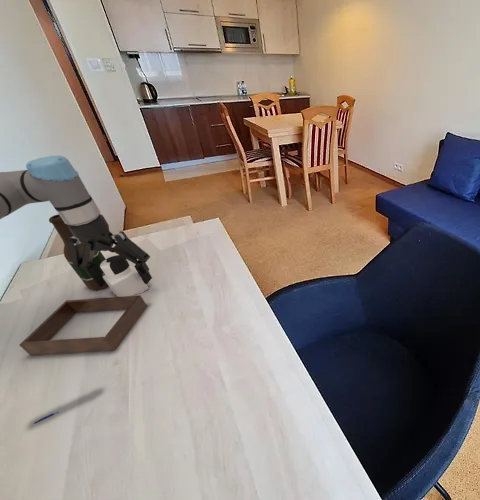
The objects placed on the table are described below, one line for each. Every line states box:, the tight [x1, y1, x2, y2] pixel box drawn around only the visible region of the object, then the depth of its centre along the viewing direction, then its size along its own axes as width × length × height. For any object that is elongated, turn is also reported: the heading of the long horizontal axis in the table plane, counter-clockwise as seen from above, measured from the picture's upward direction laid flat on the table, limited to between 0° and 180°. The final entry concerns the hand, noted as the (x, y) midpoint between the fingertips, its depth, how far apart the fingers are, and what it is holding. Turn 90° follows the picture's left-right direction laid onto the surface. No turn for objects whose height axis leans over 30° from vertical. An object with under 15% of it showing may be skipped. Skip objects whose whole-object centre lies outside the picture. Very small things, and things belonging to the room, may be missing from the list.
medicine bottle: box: [100, 254, 150, 297], centre depth 87 cm, size 7×7×12 cm
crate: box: [19, 294, 148, 357], centre depth 77 cm, size 21×15×5 cm
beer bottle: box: [48, 213, 110, 292], centre depth 88 cm, size 8×8×24 cm
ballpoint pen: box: [33, 411, 60, 424], centre depth 61 cm, size 10×1×1 cm, turn 125°
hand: (125, 282), depth 89 cm, fingers open, 13 cm apart
